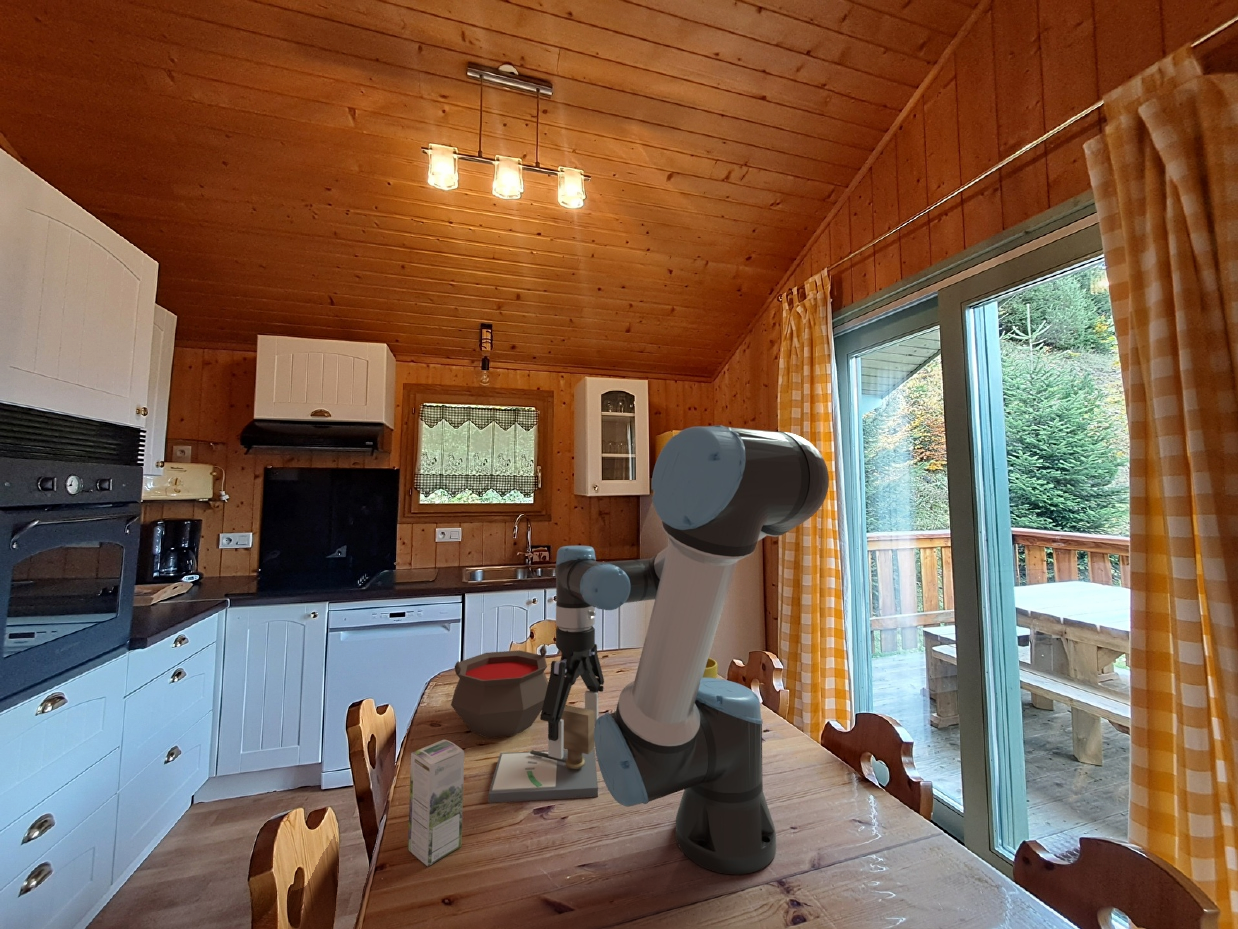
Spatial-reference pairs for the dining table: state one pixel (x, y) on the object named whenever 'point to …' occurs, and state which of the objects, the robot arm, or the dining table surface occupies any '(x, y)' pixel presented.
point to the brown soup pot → (500, 691)
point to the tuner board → (541, 778)
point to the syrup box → (436, 801)
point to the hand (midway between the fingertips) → (574, 740)
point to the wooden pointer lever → (575, 736)
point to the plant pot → (710, 669)
